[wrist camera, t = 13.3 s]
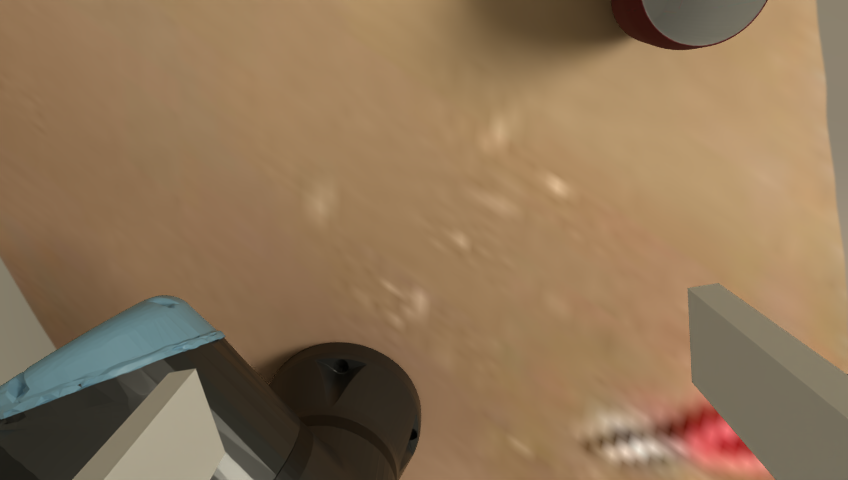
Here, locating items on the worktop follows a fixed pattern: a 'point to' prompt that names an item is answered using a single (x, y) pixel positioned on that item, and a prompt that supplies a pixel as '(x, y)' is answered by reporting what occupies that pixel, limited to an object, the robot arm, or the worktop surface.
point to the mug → (685, 20)
